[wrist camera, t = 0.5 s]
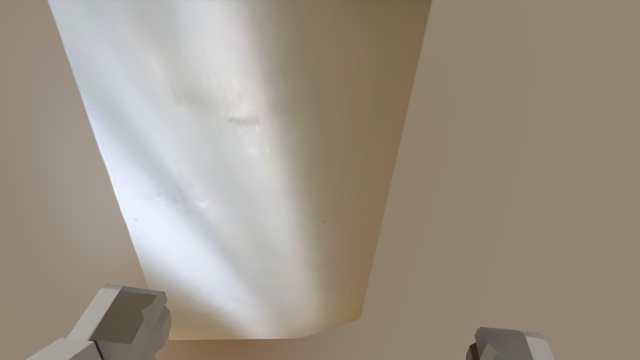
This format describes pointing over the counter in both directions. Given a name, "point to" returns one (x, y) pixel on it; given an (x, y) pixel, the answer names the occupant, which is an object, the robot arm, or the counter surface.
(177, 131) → the counter surface
